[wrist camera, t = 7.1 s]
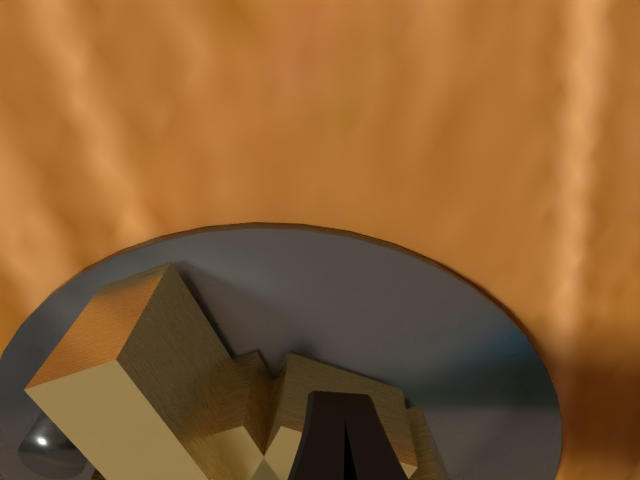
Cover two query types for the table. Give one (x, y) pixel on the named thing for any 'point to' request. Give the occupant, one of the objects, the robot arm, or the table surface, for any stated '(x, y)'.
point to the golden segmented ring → (195, 394)
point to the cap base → (331, 336)
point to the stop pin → (50, 451)
